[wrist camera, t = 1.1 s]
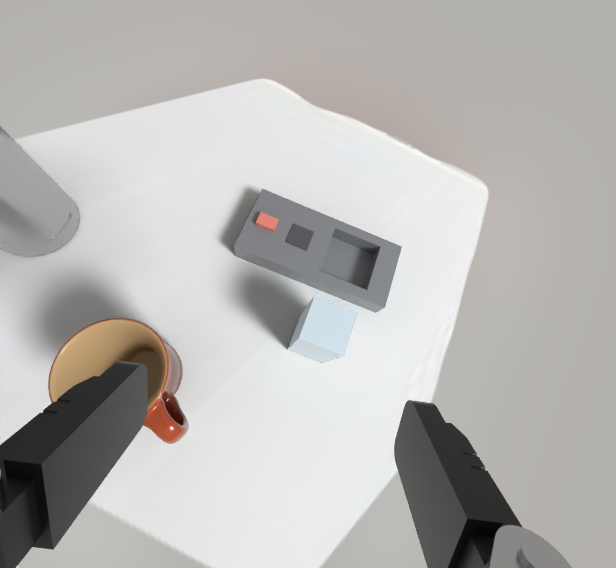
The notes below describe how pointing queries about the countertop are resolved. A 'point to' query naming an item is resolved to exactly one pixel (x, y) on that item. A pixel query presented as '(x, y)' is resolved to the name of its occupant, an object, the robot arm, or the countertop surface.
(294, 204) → the power strip
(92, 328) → the mug
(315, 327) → the block
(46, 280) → the countertop surface
